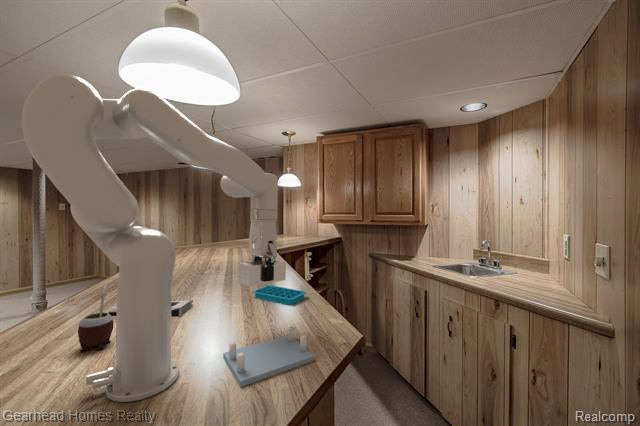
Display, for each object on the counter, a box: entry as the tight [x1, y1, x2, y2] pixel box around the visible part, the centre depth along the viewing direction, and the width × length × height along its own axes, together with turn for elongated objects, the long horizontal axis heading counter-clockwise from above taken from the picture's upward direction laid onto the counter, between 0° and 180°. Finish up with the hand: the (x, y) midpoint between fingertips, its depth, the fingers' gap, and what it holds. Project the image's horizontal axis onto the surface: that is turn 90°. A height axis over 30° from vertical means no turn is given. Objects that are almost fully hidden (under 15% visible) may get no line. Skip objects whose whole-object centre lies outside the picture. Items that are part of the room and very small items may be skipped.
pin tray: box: [222, 325, 316, 388], centre depth 65 cm, size 18×13×5 cm
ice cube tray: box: [252, 285, 307, 306], centre depth 111 cm, size 12×20×3 cm, turn 61°
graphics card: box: [107, 299, 194, 318], centre depth 95 cm, size 10×3×25 cm
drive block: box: [237, 258, 287, 288], centre depth 78 cm, size 12×6×6 cm, turn 135°
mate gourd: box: [77, 283, 114, 354], centre depth 70 cm, size 8×8×15 cm
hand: (262, 277), depth 78 cm, fingers closed on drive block, 6 cm apart
